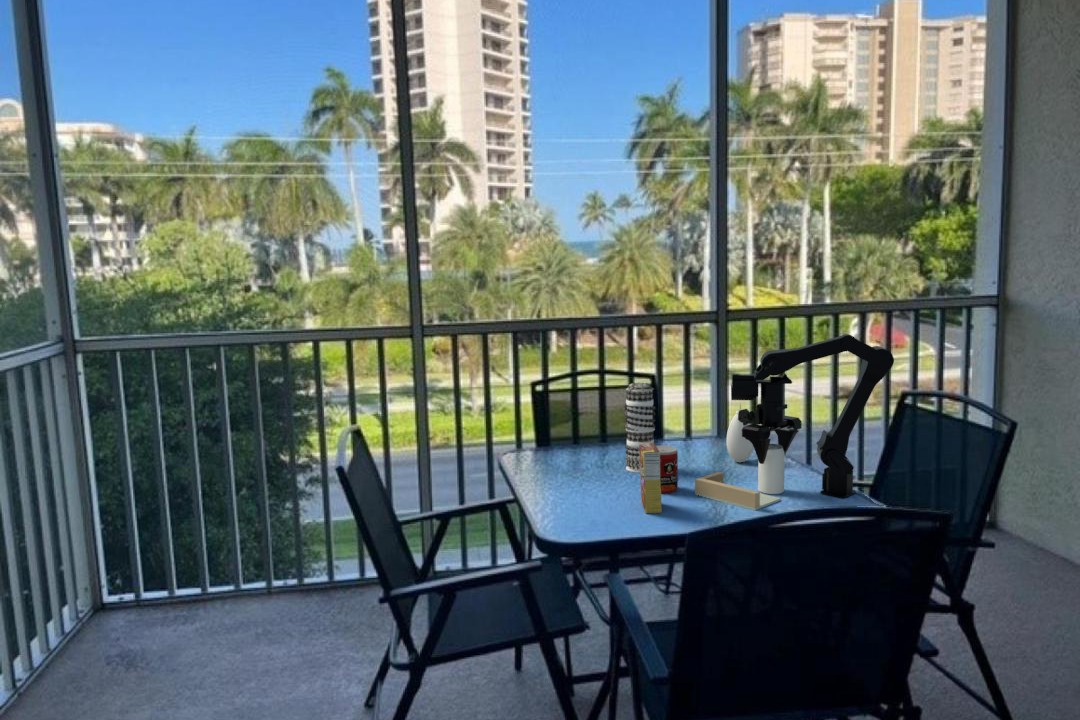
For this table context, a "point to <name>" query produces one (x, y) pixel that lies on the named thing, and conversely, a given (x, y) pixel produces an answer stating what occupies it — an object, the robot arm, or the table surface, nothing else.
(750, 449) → the sauce bottle
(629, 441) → the decorative candle
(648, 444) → the candy box
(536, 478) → the table surface
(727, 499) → the cleat board
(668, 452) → the canned food
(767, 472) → the can
